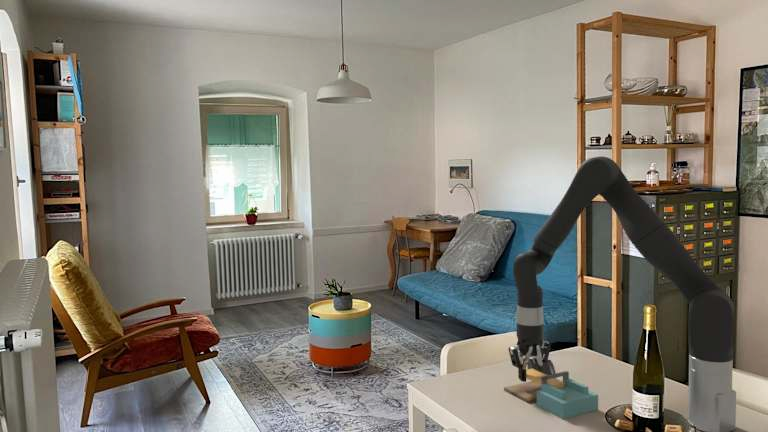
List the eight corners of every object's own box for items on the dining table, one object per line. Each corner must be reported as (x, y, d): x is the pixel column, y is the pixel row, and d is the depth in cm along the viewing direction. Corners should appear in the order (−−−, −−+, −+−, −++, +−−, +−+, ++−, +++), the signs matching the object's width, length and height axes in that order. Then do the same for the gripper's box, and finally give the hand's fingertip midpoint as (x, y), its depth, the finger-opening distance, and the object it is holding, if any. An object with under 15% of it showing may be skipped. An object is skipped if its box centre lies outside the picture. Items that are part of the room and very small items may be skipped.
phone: (550, 359, 193) (555, 375, 179) (550, 363, 193) (555, 378, 179) (526, 358, 195) (528, 374, 180) (526, 362, 195) (528, 377, 180)
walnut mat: (568, 393, 166) (568, 391, 166) (528, 403, 160) (528, 400, 160) (542, 381, 176) (542, 379, 176) (503, 390, 170) (503, 387, 169)
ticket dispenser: (598, 409, 154) (598, 381, 154) (563, 418, 149) (562, 389, 149) (570, 396, 163) (570, 370, 163) (536, 405, 158) (536, 377, 158)
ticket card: (564, 386, 160) (564, 382, 160) (551, 389, 158) (551, 385, 158) (532, 372, 172) (532, 368, 171) (520, 375, 170) (520, 371, 169)
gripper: (518, 327, 161) (518, 388, 163) (558, 320, 168) (558, 379, 169) (501, 321, 168) (501, 379, 170) (540, 315, 174) (540, 371, 176)
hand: (530, 379), depth 169 cm, fingers closed on ticket card, 4 cm apart
